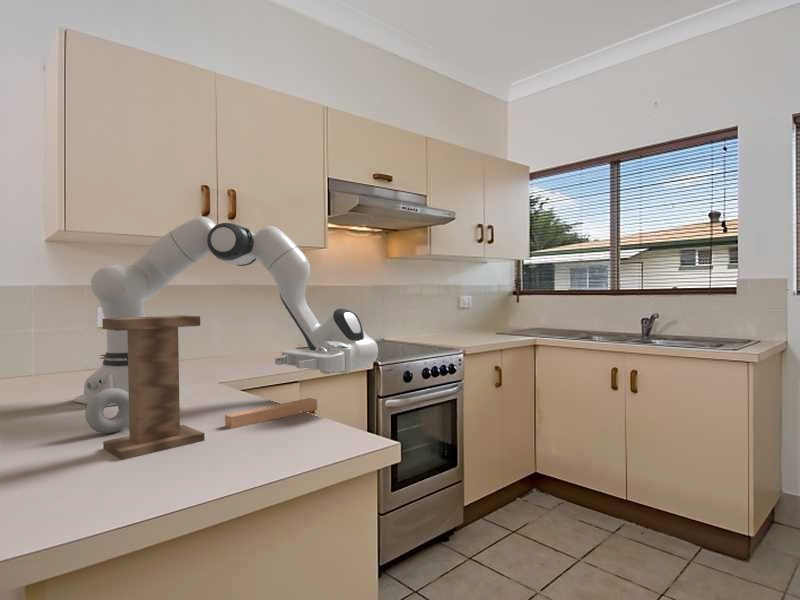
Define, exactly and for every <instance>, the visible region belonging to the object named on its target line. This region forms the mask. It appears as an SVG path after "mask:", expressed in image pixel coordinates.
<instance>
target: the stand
mask: <svg viewBox="0 0 800 600" xmlns="http://www.w3.org/2000/svg"><path fill="white" fill-rule="evenodd" d="M101 321H102V330H106V331H107V330H115V331H121V330H127V335H128V387H129V423H128V428H129V429H128V430H129V433H128V434H129V435H126V436H123V437H117V438H112V439H108V440H103V441H102V442H103V443H102V444H103V447H102V449H103V450H104V451H106V452H108V453H110V454H112V456H114V457H116V458H117V459H119V460H120V461H123V460H126V459H130V458H135V457H139V456H143V455H149V454H152V453H153V454H154V453H157V452H160V451H164V450H169V449H174V448H178V447H181V446H187V445H190V444H194V443H199V442H203V441H205V432H202V431H200V430H198V429H196V428H193V427H190V426H188V425H185V424H181V421H180V420H181V417H180V416H181V413H180V412H181V411H180V364H179V363H180V362H179V361H180V360H179V354H180V353H179V349H180V348H179V328H183V327H184V328H187V327H201V316H199V315H185V314H184V315H183V314H182V315H165V316H164V315H161V316H160V315H159V316H146V317H131V318H108V319H105V318H102V320H101Z"/></svg>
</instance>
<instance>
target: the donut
mask: <svg viewBox="0 0 800 600" xmlns="http://www.w3.org/2000/svg"><path fill="white" fill-rule="evenodd" d="M110 403H115V404H117V405H116V406H117V408H118V411H117V413H116V414H115V415H114V416H112V417H106V416H105V414H104V410H105V408H106V407H108V406H107V405H108V404H110ZM85 407H86V408H85V413H84V415H85V421H86V423H87V424H88V426H89V427H90V428H91V429H92V430H94V431H95V432H97V433H101V434H105V435H106V434H114V433H116V432H120V431H121V430H122V429H123V430H124V428H126V427H127V426H129V393H128V392H126V391H125V390H122V389H119V388H109V389H105V390H102V391H100V392H99V393H97V394H95V395H94V396H93V397H92V399H91V400H90V401H89V403H88V404H86V406H85Z"/></svg>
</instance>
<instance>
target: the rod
mask: <svg viewBox="0 0 800 600" xmlns="http://www.w3.org/2000/svg"><path fill="white" fill-rule="evenodd" d="M317 410H318V399H316V398H313V397H308V398H303V399H302V398H301V399H299V400H293V401H289V402H288V401H287V402H284V403H283V402H282V403H277V404H272V405H268V406H263V407H258V408H252V409H248V410H243V411H242V410H241V411H237V412H232V413H227V414H224V415H225V416H224V424H225V427H226V428H229V429H231V428H232V429H235V428H236V429H237V428H241V427H244V426H249V424H250V425H255V424H258V422H259V423H262V421H264V422H267V421H266V420H268V421H271V419H273V420H276V419H275V418H277V419H280V418H279V417H282V418H285V417H284V416H286V417H290V416H289V415H291V416H294V415H298V414H299V415H300V414H303V413H302V412H304V413H308V412H312V411H317ZM300 411H301V412H300Z"/></svg>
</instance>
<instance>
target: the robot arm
mask: <svg viewBox="0 0 800 600" xmlns="http://www.w3.org/2000/svg"><path fill="white" fill-rule="evenodd" d="M211 254H212V255H213V256H214V257H215V258H217V259H219V260H221V261H223V262H224V263H227V264H230V265H235V266H238V267H245V266H248V265H249V266H250V265H252V264H253V263H254V262H256V261H257V260H258V261H259V262H260V263H261V264H262V265H263V266H264V268H265V269H266V270H267V271H268V272H269V274H270V275H271V276H272V278H273V279H274V281H275V283H276V286H277V287H278V291H279V297H280V300H281V301H282V304H283V305H284V307H285V309H286V310H287V312H288V313H289V315H290V317H291V319H292V320H293V321H294V322H295V325H296V326H297V328H298V329H299V331H300V332H301V334H302V335H303V338H304V339H305V342H306V344H307V346H308V349H291V350H284V351H281V356H278V357H277V356H276V357H275V358H274V364H275V365H278V366H282V365H284V366H285V365H286V366H290V367H296V368H297V369H308V370H309V369H310V370H315V371H317V370H318V371H319V372H321V373H322V374H323V375H331V374H338V373H342V374H343V373H344V374H347V373H351V371H355V370H356V371H357V370H360V369H364V368H367V367H370V366H371V365H373V364H374V363H375V361H376V360H377V359H378V355H379V346H378V344H377V342H376V340H374V339H373V338H372V337H371V336H369V335H367V333H366V332H365V330H364V329H363V327H362V323H361V321H360V319H359V317H358V315H357V314H356V313H355V312H353V311H351V310H350V309H346V308H337V309H335V310H334V311H333V312H331V314H330V315H329V316H328V317H327V318H326V319H324V321H323V322H322V323H319V320H318V319H317V318H316V317H315V315H314V313H313V312H312V309H310V307H309V306H308V303H307V301H306V289H307V286H308V282H309V280H310V275H311V266H310V262H309V260H308V257H306V255H305V253H303V251H302V250H301V249H300V247H298V245H297V244H296V243H295V242H294V241H293V240H292V239H291V238H290V237H289V236H288V235H287V234H286V233H285V232H283V231H282V230H280V229H279V228H278V227H277V226H275V225H274V226H273V225H268V226H267V225H265V226H264V227H262V228H260V229H259V230H257V231H256V232H252V231H251V229H249V228H246V227H244V226H242V225H239V224H236V223H231V222H222V223H215V222H214V220H212V219H211V218H209V217H206V216H197V217H194V218H191V219H190V220H187V221H186V222H184V223H182V224H180V225H179V226H176V227H175V228H173V229H172V230H170V231H169V232H168V233H166V234H164V235H163V236H162V237H160V238H159V239H157V240H156V241H154V242H153V243H151V244H150V245H148V246H147V248H146V250H145V252H144V253H143V254H142V256H141V257H139V259H137V260H136V261H134V262H133V263H131V264H128V265H127V264H117V263H116V264H112V265H107V266H104V267H101V268H99V269H98V270H96V271H95V272H94V274H93V275H92V277H91V279H90V288H91V290H92V293H93V294H94V296H95V297H96V298H97V299H98V301H99V304H100V307H101V309H102V314H103V316H104V319H108V318H131V317H147V316H146V314H145V310H144V305H143V303H145V302H149V300H151V299H153V298H155V297H156V296H157V295H158V293H159V292H160V291H161V290H163V289H164V288H165V287H166V285H167V284H169V283H170V282H171V281H172V280H173V279H175V277H176V276H178V275H180V274H181V273H182V272H184V271H185V270H186V269H188V268H190V267H192V266H193V265H194V264H195V263H197V262H198V261H200V260H201V259H203V258H204V257H206V256H207V255H211ZM106 347H107V348H106V351H107V352H105V354H100V355H99V357H100V358H99V360H103V361H102V366H100V367H99V368H98V369H97V370H95V371H94V373H92V374H91V375H90V376H89V377H87V378H86V379H85V381H84V385H83V394H82V395H78V396H77V397H74V398H73V399H74V400H73V401H74V402H75V403H80V404H86V405H88V403H89V401H90V400H91V399H92V397H93V396H94V395H95V394H97V393H99V392H100V391H102V390H105V389H109V388H119V389H122V390H125V391H126V392H128V393H129V387H128V335H127V330H121V331H115V330H107V329H106ZM111 406H117V404H115V403H110V404H108V405H107V406H106V407H111Z"/></svg>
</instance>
